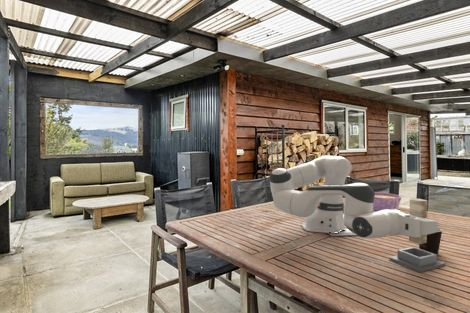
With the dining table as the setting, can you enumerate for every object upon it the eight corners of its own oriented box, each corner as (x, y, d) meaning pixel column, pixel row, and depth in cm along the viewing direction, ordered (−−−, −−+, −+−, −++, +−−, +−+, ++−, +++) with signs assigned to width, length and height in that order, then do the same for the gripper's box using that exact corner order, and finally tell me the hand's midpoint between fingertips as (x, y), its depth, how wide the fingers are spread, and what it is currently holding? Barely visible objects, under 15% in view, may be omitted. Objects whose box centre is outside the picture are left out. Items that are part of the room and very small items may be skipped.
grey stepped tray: (419, 272, 99) (419, 261, 99) (389, 259, 110) (389, 249, 110) (445, 265, 104) (445, 255, 104) (413, 254, 115) (414, 244, 115)
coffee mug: (442, 257, 111) (443, 233, 111) (416, 253, 116) (417, 229, 116) (439, 248, 121) (440, 225, 121) (416, 244, 126) (416, 222, 125)
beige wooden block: (419, 244, 104) (420, 201, 103) (408, 240, 107) (409, 199, 107) (426, 242, 105) (427, 200, 105) (416, 239, 109) (417, 198, 108)
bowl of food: (407, 216, 173) (408, 198, 172) (375, 217, 173) (375, 198, 173) (390, 209, 193) (390, 192, 192) (361, 209, 193) (361, 192, 193)
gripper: (369, 223, 111) (394, 219, 116) (421, 239, 92) (448, 234, 97) (370, 207, 111) (395, 204, 116) (421, 220, 92) (448, 216, 97)
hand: (419, 217), depth 106 cm, fingers closed on beige wooden block, 4 cm apart
